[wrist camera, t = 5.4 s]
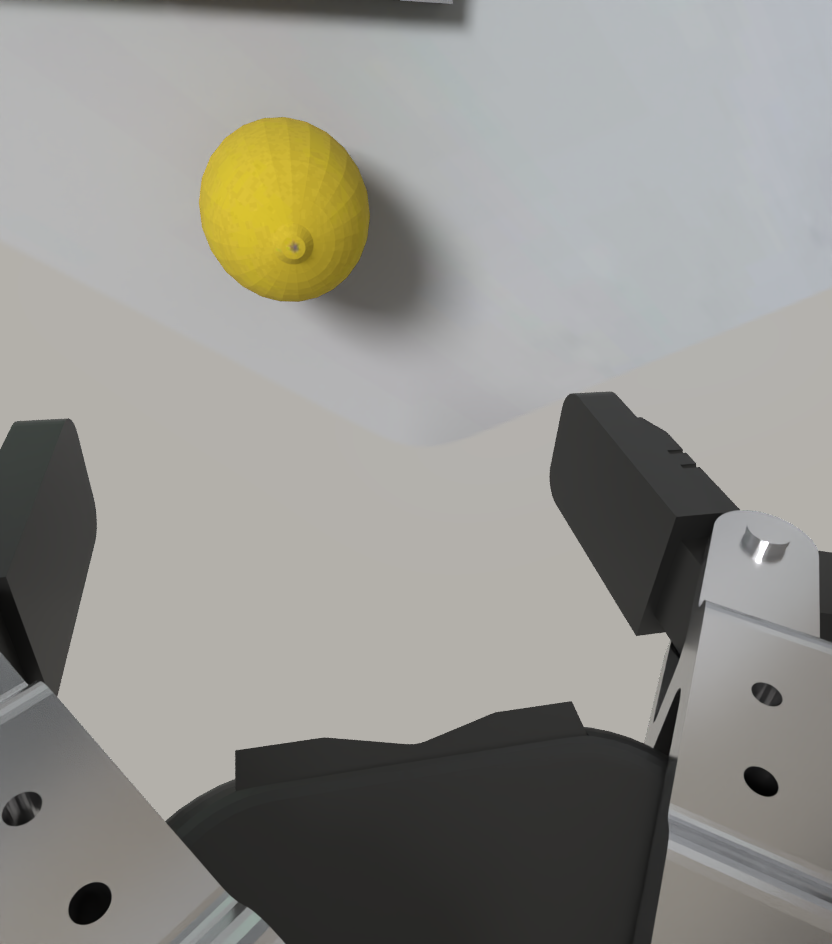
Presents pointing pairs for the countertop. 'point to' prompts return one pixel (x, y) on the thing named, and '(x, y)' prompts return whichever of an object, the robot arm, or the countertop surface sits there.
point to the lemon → (284, 209)
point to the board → (433, 1)
